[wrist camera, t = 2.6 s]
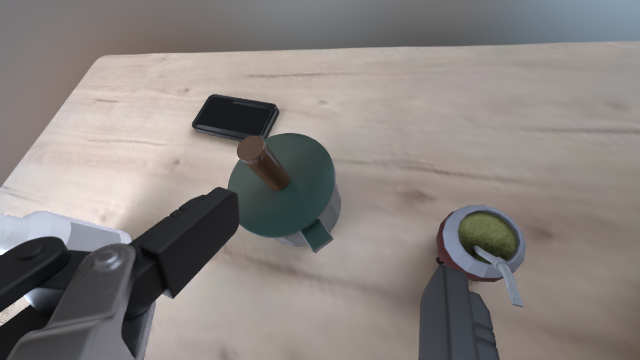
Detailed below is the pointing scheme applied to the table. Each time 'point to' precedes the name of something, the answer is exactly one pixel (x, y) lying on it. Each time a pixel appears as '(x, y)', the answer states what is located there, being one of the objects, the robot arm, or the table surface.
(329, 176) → the lid
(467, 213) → the mate gourd
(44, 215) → the white bottle
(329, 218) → the pot
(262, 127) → the phone
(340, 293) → the table surface
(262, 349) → the table surface
